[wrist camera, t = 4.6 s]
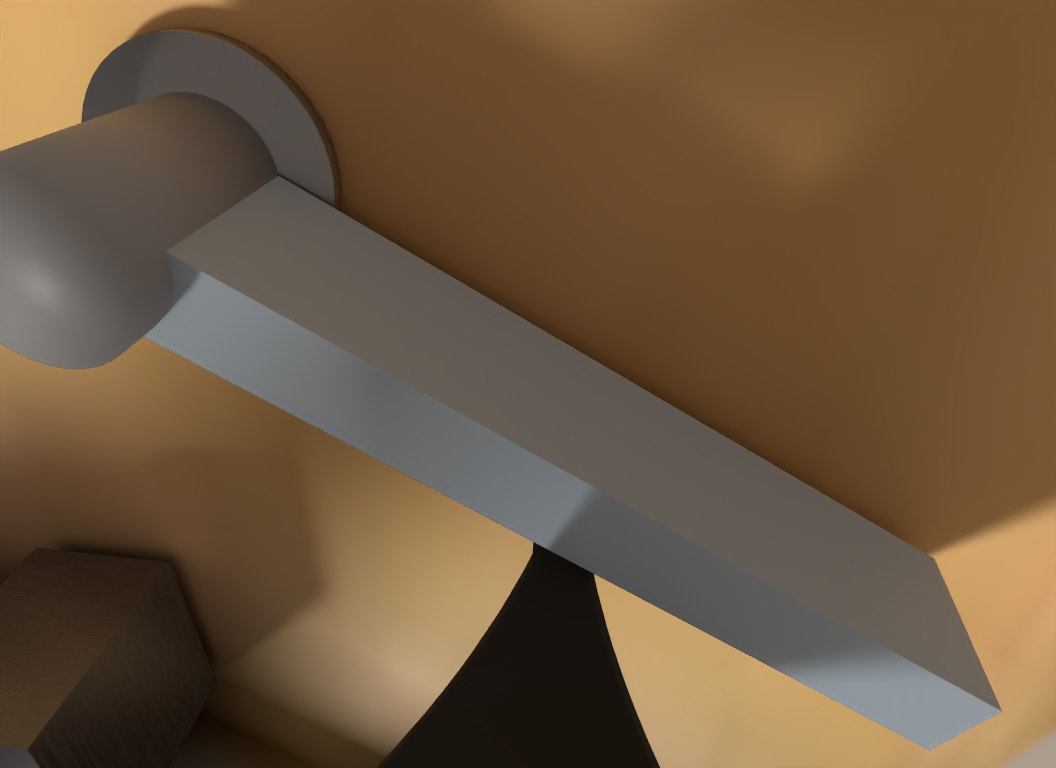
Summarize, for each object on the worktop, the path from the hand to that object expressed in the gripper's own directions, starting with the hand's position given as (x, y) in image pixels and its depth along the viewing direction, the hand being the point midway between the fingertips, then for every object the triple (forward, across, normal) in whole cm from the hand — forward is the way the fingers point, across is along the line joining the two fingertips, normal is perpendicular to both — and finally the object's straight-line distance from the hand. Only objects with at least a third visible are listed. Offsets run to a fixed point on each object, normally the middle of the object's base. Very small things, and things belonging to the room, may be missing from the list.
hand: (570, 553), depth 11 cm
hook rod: (+1, +15, +4) cm, 16 cm away
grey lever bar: (+1, 0, -3) cm, 3 cm away
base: (+1, +5, -6) cm, 8 cm away
